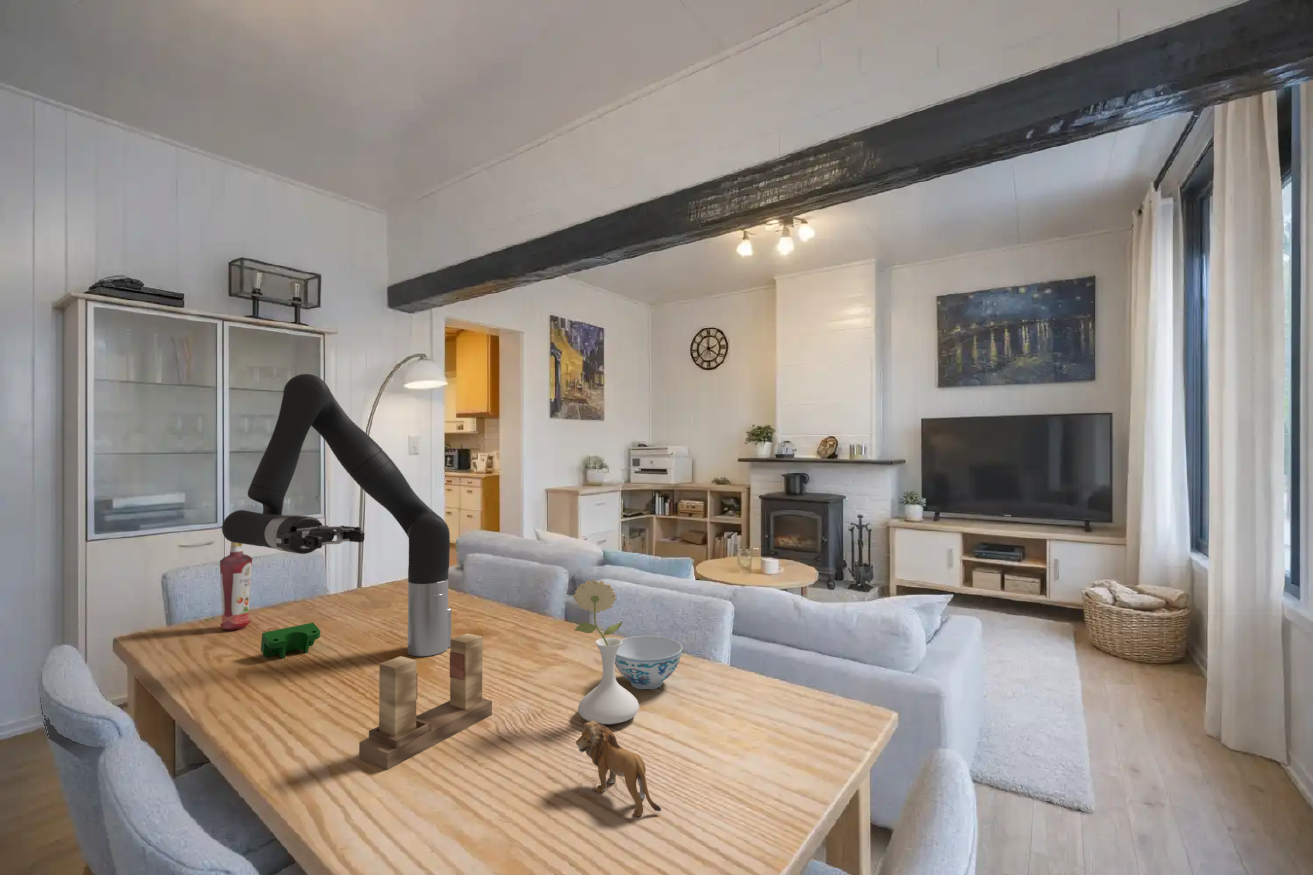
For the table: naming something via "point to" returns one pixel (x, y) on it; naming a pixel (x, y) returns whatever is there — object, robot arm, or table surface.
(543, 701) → the table surface
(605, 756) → the lion figurine
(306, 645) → the clamp
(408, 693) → the tall wooden pillar
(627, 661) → the chinaware
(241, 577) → the liquor
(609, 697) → the flower in vase
